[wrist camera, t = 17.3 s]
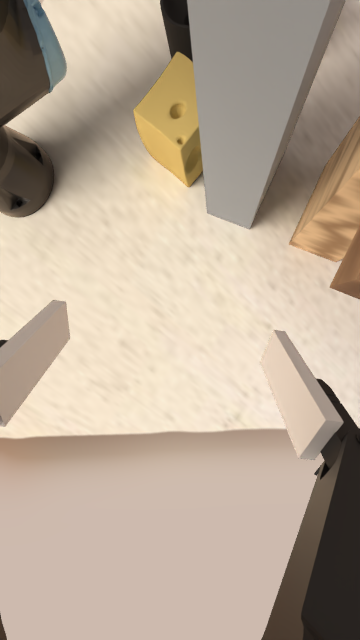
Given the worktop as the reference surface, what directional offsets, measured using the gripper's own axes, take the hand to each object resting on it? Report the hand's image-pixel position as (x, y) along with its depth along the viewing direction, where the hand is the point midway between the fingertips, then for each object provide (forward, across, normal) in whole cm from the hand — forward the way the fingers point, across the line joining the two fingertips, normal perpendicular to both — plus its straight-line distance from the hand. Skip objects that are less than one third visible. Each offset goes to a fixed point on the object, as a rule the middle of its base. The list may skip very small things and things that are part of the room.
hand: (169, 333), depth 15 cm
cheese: (+40, -1, +13) cm, 42 cm away
